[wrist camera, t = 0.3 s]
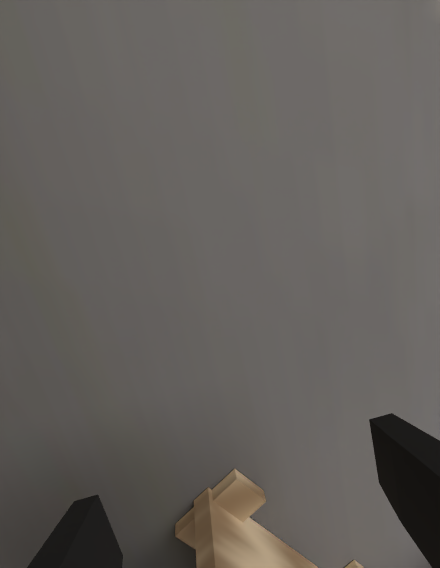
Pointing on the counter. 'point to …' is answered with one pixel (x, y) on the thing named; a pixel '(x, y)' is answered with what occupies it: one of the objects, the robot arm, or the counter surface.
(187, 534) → the wooden board with feet
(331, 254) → the counter surface
